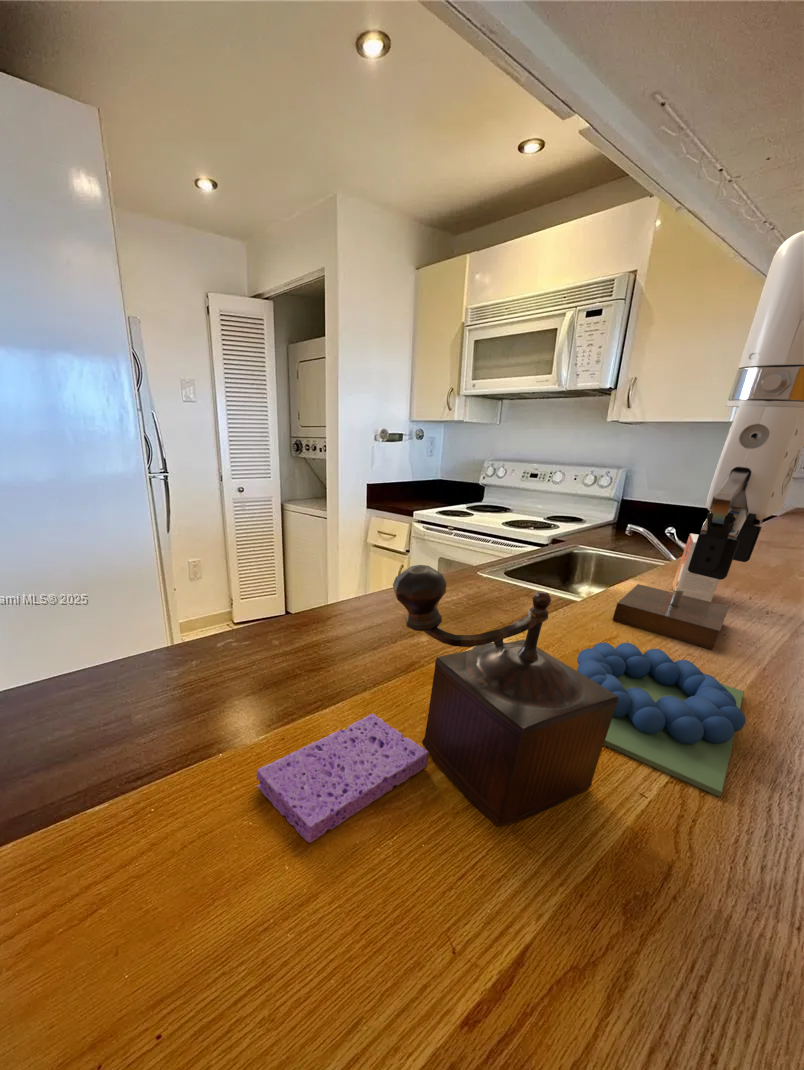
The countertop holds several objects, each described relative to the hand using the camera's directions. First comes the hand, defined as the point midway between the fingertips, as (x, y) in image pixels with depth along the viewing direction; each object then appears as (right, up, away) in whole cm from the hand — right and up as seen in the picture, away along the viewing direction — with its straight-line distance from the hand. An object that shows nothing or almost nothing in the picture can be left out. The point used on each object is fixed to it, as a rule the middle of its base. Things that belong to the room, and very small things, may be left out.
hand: (719, 566), depth 50 cm
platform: (+10, -7, +24) cm, 27 cm away
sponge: (-40, -18, -11) cm, 45 cm away
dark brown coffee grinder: (-28, -19, -10) cm, 35 cm away
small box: (+23, -3, +37) cm, 43 cm away
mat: (-7, -15, +1) cm, 17 cm away
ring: (-6, -14, +2) cm, 16 cm away
